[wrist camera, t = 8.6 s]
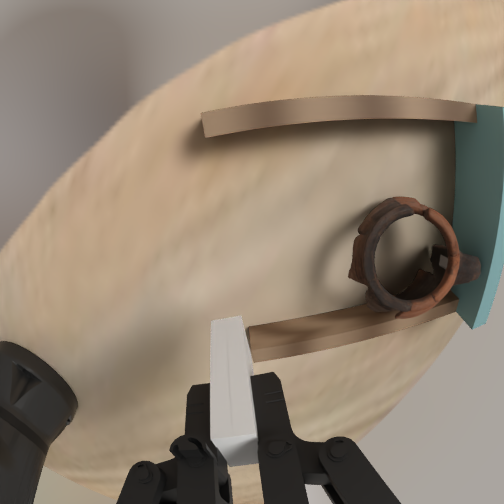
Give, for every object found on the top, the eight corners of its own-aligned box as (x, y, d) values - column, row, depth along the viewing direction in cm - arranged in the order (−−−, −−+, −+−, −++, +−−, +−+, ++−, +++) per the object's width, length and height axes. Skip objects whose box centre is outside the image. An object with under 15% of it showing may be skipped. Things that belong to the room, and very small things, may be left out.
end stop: (440, 295, 25) (472, 329, 20) (452, 103, 17) (502, 107, 12) (454, 291, 25) (485, 323, 20) (467, 105, 17) (516, 110, 12)
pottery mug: (343, 309, 26) (351, 333, 18) (340, 207, 26) (347, 186, 18) (456, 302, 23) (499, 318, 15) (454, 206, 23) (496, 189, 15)
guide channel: (251, 339, 26) (253, 362, 23) (205, 114, 17) (200, 113, 15) (440, 295, 25) (456, 311, 23) (452, 103, 17) (475, 104, 14)
